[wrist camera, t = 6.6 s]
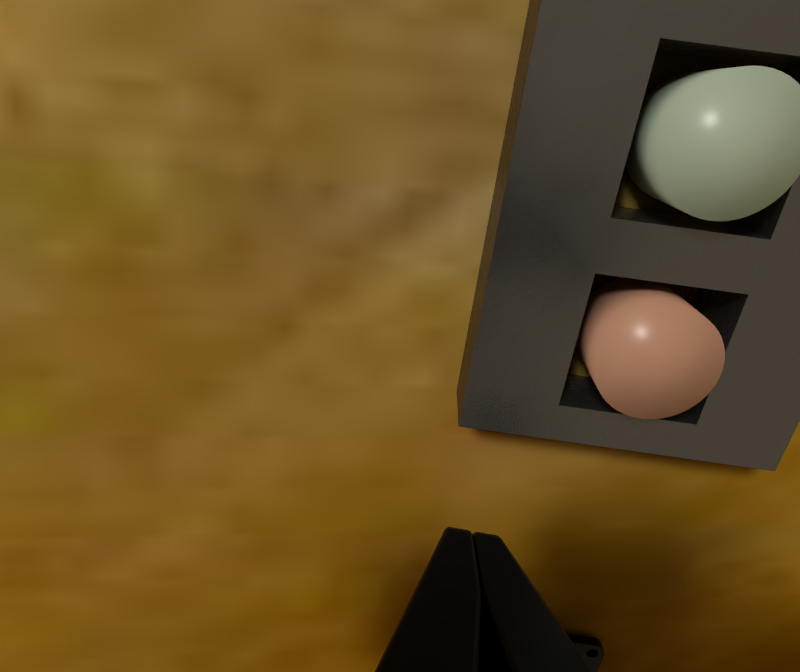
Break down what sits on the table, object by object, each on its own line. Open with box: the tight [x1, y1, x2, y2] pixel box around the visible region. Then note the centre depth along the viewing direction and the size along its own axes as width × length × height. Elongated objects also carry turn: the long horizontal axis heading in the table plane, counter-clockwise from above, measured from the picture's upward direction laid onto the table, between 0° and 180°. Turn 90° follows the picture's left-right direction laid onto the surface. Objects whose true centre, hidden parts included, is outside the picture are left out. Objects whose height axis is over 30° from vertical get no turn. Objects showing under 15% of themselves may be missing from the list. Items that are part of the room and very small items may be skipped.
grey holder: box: [457, 0, 800, 471], centre depth 15 cm, size 10×19×2 cm, turn 173°
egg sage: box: [626, 66, 800, 221], centre depth 15 cm, size 4×4×3 cm
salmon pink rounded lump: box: [575, 278, 725, 419], centre depth 17 cm, size 4×4×3 cm
